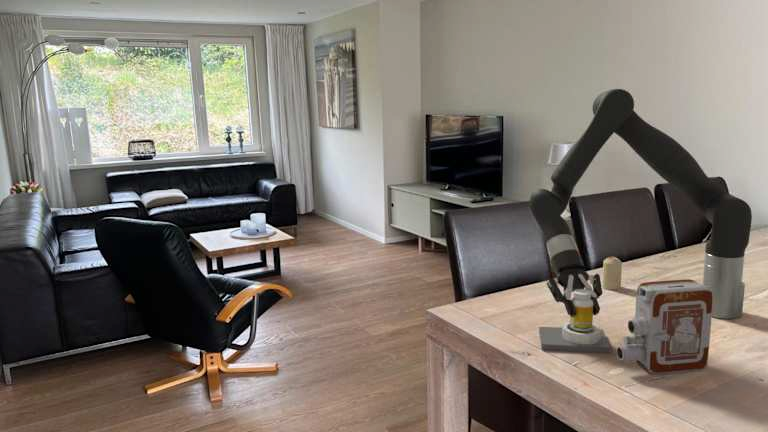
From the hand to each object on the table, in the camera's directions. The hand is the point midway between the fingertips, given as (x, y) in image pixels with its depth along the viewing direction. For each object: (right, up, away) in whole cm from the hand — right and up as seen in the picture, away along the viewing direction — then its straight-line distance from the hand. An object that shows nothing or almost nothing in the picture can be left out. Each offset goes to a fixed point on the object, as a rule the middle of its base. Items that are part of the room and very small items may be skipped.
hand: (585, 314), depth 139 cm
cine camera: (+13, -10, -11) cm, 20 cm away
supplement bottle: (0, -4, +3) cm, 5 cm away
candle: (+24, +1, +42) cm, 48 cm away
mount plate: (-2, -8, +4) cm, 9 cm away
